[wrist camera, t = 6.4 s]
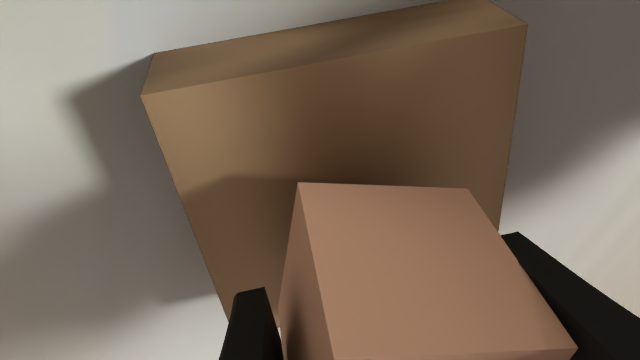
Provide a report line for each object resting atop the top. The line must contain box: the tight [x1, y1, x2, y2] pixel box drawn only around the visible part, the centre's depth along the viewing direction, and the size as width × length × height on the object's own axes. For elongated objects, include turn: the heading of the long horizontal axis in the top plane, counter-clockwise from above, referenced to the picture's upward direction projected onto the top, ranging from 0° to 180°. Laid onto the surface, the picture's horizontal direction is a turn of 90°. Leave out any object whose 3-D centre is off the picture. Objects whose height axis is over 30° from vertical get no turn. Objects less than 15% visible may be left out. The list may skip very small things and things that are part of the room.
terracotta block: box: [278, 182, 578, 360], centre depth 10 cm, size 4×4×4 cm
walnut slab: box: [140, 0, 528, 328], centre depth 15 cm, size 9×9×3 cm
